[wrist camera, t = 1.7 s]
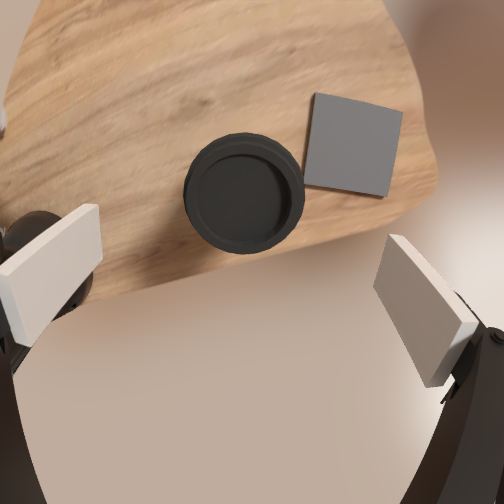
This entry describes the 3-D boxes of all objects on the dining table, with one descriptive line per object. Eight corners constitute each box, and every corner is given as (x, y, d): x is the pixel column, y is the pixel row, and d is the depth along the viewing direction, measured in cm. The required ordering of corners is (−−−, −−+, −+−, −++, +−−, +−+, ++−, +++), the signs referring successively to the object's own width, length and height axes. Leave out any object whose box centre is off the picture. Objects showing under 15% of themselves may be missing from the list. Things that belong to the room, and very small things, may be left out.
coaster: (302, 182, 34) (303, 183, 34) (314, 92, 30) (315, 92, 29) (385, 195, 35) (387, 196, 34) (400, 112, 30) (402, 112, 30)
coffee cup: (302, 151, 33) (335, 182, 19) (261, 213, 36) (263, 282, 22) (235, 109, 31) (219, 109, 17) (196, 175, 34) (156, 222, 21)
